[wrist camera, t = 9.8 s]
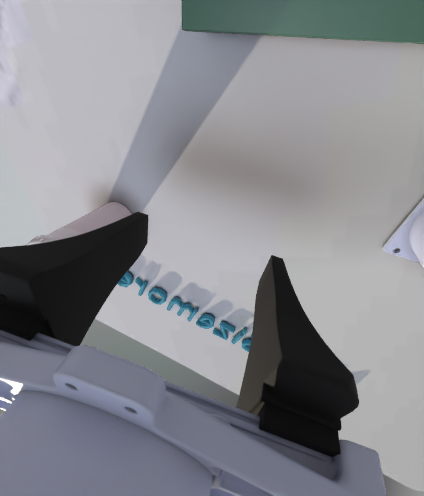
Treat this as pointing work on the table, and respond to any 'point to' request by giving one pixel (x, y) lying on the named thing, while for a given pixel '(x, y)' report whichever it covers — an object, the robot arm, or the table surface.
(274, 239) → the table surface
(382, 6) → the flat green board
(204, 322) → the nameplate
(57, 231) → the smoothie
